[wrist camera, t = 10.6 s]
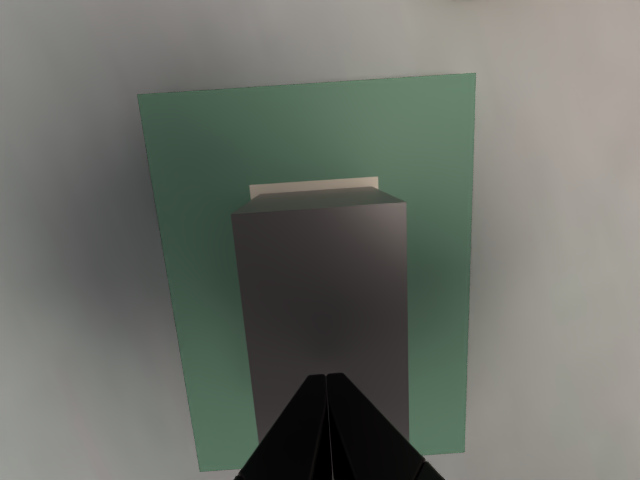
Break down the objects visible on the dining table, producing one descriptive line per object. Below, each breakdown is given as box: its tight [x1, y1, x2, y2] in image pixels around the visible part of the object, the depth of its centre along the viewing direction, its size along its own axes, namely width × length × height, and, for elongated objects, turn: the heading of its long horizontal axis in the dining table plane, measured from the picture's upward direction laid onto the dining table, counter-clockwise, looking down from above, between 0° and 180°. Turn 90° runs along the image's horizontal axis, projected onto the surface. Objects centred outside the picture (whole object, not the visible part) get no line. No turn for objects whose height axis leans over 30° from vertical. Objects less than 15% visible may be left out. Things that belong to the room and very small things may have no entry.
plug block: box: [231, 186, 409, 478], centre depth 12 cm, size 8×4×5 cm, turn 4°
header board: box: [137, 73, 476, 472], centre depth 14 cm, size 16×12×4 cm
